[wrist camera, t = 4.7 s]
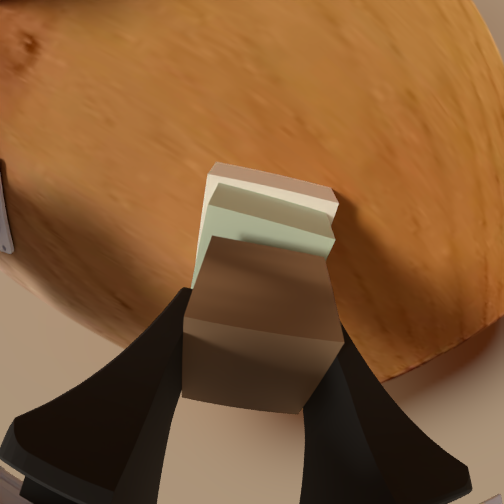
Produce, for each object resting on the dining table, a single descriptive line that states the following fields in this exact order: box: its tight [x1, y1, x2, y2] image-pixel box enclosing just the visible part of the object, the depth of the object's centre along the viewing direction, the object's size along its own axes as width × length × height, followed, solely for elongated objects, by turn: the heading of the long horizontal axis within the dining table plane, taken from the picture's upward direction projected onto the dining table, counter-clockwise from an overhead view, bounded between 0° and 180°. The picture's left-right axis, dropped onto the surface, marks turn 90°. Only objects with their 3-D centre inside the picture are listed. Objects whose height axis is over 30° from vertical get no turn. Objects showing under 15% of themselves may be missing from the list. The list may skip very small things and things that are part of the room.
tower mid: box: [191, 183, 336, 289], centre depth 13 cm, size 5×5×2 cm
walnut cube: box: [182, 235, 344, 414], centre depth 10 cm, size 4×4×4 cm
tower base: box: [195, 162, 339, 264], centre depth 16 cm, size 6×6×2 cm
